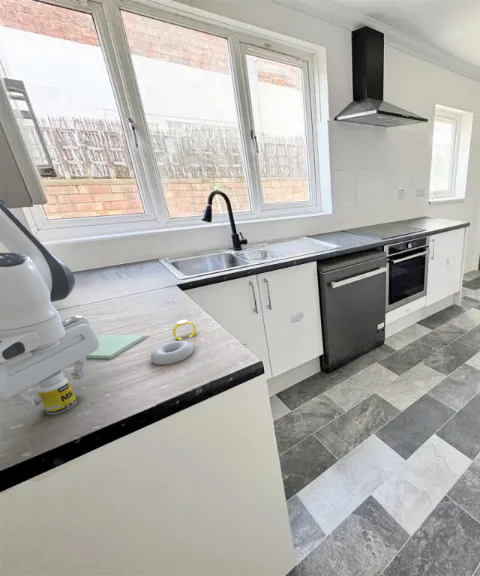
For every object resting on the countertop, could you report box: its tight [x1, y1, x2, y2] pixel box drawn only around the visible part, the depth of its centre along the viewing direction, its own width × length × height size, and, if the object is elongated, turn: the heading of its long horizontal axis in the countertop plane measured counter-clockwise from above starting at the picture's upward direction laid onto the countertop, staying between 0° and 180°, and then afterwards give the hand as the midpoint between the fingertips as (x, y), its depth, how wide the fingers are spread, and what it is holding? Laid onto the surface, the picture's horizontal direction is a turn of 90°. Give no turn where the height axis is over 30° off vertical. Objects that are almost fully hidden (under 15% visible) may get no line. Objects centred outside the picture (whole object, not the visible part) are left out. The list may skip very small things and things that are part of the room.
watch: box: [172, 319, 197, 341], centre depth 96 cm, size 6×3×6 cm, turn 136°
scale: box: [86, 334, 146, 360], centre depth 92 cm, size 14×12×3 cm
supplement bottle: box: [36, 370, 78, 415], centre depth 66 cm, size 5×5×8 cm
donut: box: [150, 340, 194, 366], centre depth 86 cm, size 10×4×10 cm
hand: (58, 390), depth 67 cm, fingers open, 8 cm apart
